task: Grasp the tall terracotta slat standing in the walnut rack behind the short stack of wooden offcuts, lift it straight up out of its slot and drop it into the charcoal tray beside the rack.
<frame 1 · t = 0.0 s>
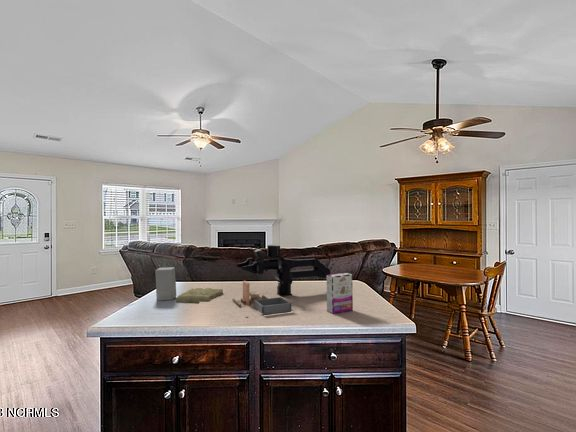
hand: (238, 266, 164), 17 cm above the countertop, tool horizontal, fingers open, 9 cm apart
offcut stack: (255, 303, 156), resting on rack
skincare box: (165, 299, 165), on the countertop
candy bar box: (339, 311, 144), on the countertop
tray: (272, 310, 145), on the countertop
decorative tile: (201, 298, 168), on the countertop
slat: (246, 303, 154), point 1 cm above the countertop, touching rack
rack: (252, 304, 156), on the countertop
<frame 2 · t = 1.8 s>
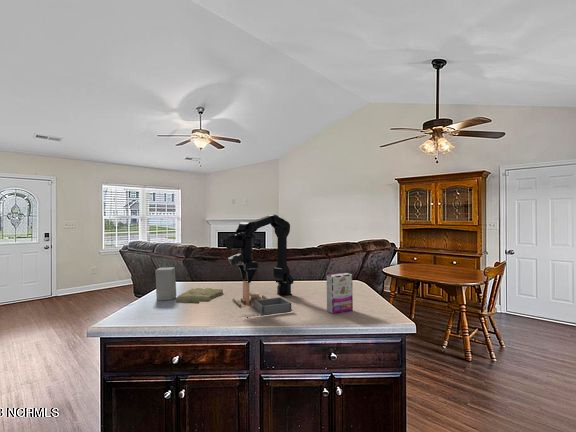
hand: (246, 281, 155), 11 cm above the countertop, tool pointing down, fingers open, 9 cm apart
nothing on the countertop moved.
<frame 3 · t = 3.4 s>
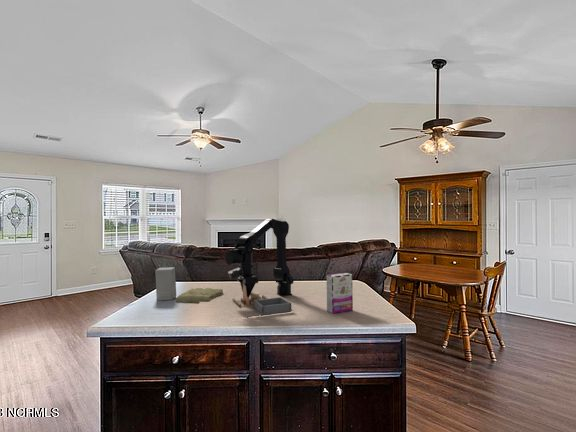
hand: (246, 295, 154), 5 cm above the countertop, tool pointing down, fingers closed on slat, 6 cm apart
slat: (246, 303, 154), point 1 cm above the countertop, touching gripper, rack
everything else where it was.
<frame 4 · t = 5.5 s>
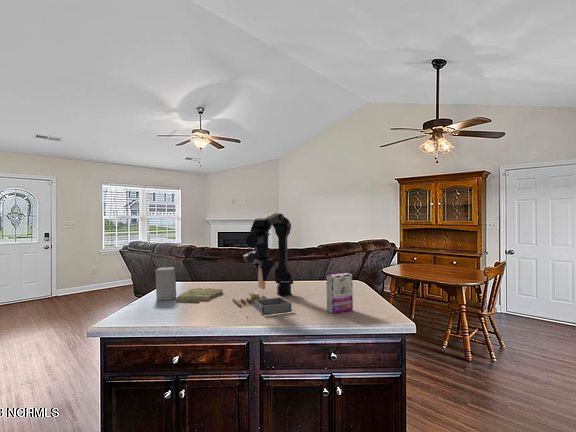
hand: (261, 279, 149), 13 cm above the countertop, tool pointing down, fingers closed on slat, 6 cm apart
slat: (261, 287, 149), point 9 cm above the countertop, touching gripper
everything else where it was.
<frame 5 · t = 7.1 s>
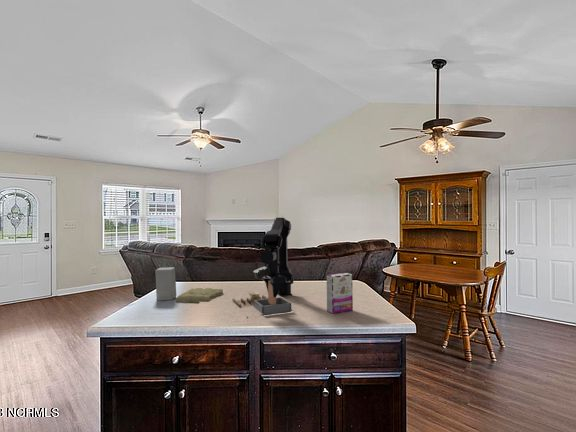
hand: (272, 295, 146), 6 cm above the countertop, tool pointing down, fingers closed on slat, 6 cm apart
slat: (272, 303, 146), point 3 cm above the countertop, touching gripper
everything else where it was.
when the fingers open (6 cm above the countertop, at t = 8.0 s): slat drops 1 cm, resting on tray.
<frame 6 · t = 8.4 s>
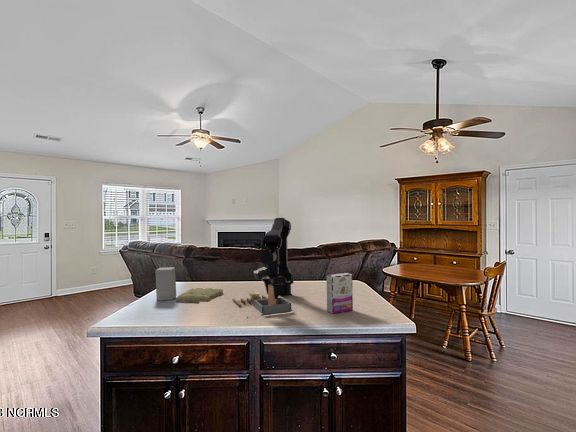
hand: (272, 296, 146), 6 cm above the countertop, tool pointing down, fingers open, 9 cm apart
slat: (272, 307, 145), point 1 cm above the countertop, touching tray
everything else where it was.
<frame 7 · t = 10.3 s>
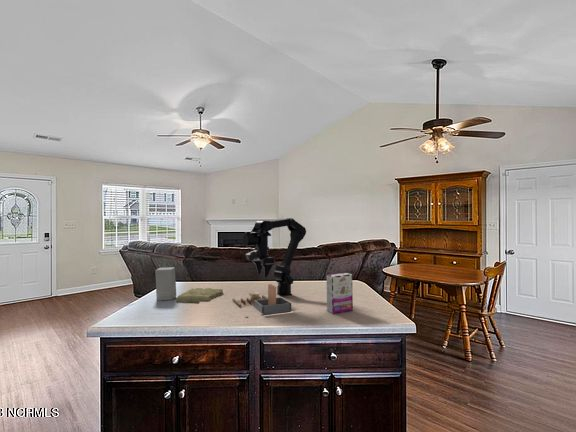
hand: (262, 275, 166), 12 cm above the countertop, tool pointing down, fingers open, 9 cm apart
nothing on the countertop moved.
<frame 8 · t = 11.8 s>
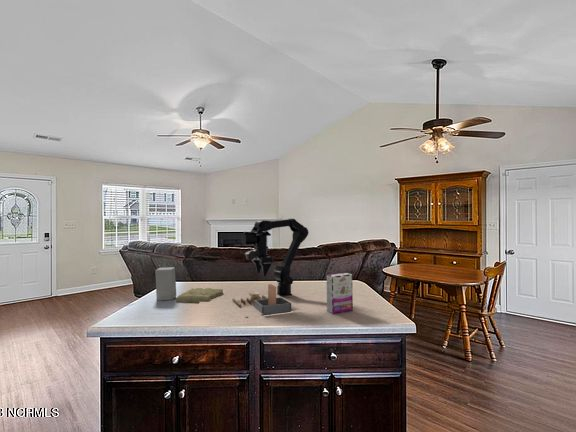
hand: (261, 274, 167), 12 cm above the countertop, tool pointing down, fingers open, 9 cm apart
nothing on the countertop moved.
at the end: slat inside the target area on the tray (0.0 cm from its centre), point 1.0 cm above the tray's base; the gripper is holding nothing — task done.
